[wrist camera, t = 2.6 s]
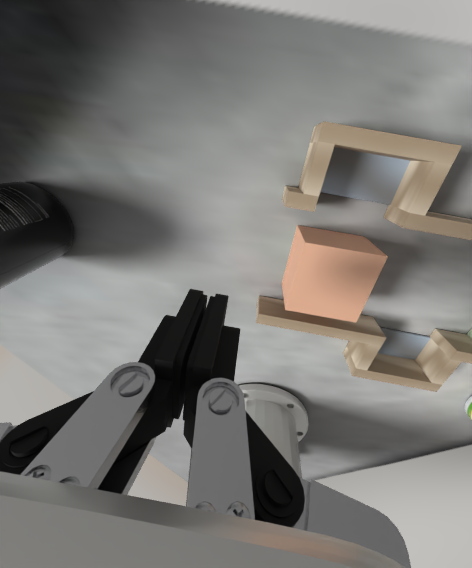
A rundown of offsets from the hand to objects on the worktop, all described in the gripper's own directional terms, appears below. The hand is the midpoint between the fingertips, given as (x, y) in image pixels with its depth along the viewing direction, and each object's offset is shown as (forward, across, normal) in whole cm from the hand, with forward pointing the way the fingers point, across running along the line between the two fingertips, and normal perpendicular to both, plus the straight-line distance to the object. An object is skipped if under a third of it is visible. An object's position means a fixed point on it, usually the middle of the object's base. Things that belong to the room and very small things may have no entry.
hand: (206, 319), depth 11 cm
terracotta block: (+12, -8, +1) cm, 14 cm away
